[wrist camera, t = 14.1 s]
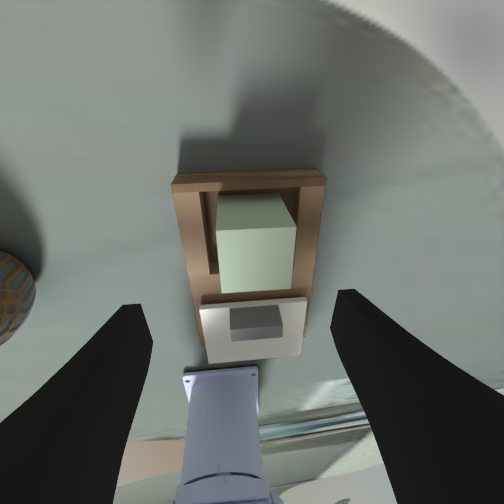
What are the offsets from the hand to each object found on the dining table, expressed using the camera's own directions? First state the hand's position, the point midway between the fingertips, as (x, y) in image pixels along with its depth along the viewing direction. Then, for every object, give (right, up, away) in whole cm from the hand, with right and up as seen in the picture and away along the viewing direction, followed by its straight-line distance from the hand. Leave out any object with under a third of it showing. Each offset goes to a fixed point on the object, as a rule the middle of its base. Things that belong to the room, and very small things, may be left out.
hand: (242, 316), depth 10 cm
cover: (0, -4, +11) cm, 12 cm away
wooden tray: (0, +2, +11) cm, 11 cm away
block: (0, +5, +8) cm, 9 cm away
